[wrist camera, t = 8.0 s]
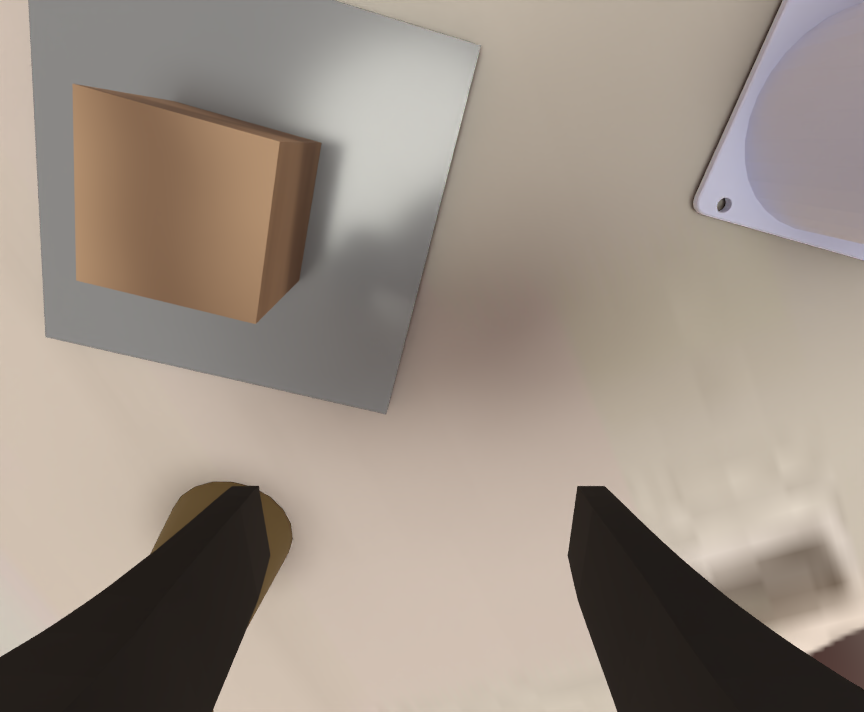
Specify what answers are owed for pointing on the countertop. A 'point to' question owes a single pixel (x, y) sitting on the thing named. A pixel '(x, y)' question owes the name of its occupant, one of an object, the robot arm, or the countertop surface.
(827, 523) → the countertop surface
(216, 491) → the cork
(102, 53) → the slate board
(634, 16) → the countertop surface
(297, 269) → the walnut cube
